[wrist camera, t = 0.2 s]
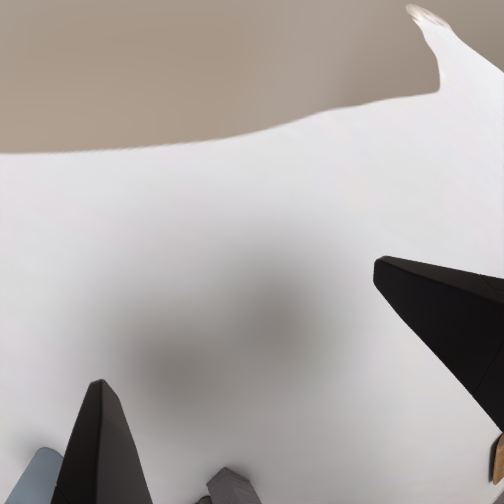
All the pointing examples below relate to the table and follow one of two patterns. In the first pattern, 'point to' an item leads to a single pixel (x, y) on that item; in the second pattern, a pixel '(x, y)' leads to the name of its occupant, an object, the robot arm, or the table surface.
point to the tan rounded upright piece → (499, 461)
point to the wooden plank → (205, 501)
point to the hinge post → (231, 489)
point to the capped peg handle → (37, 479)
